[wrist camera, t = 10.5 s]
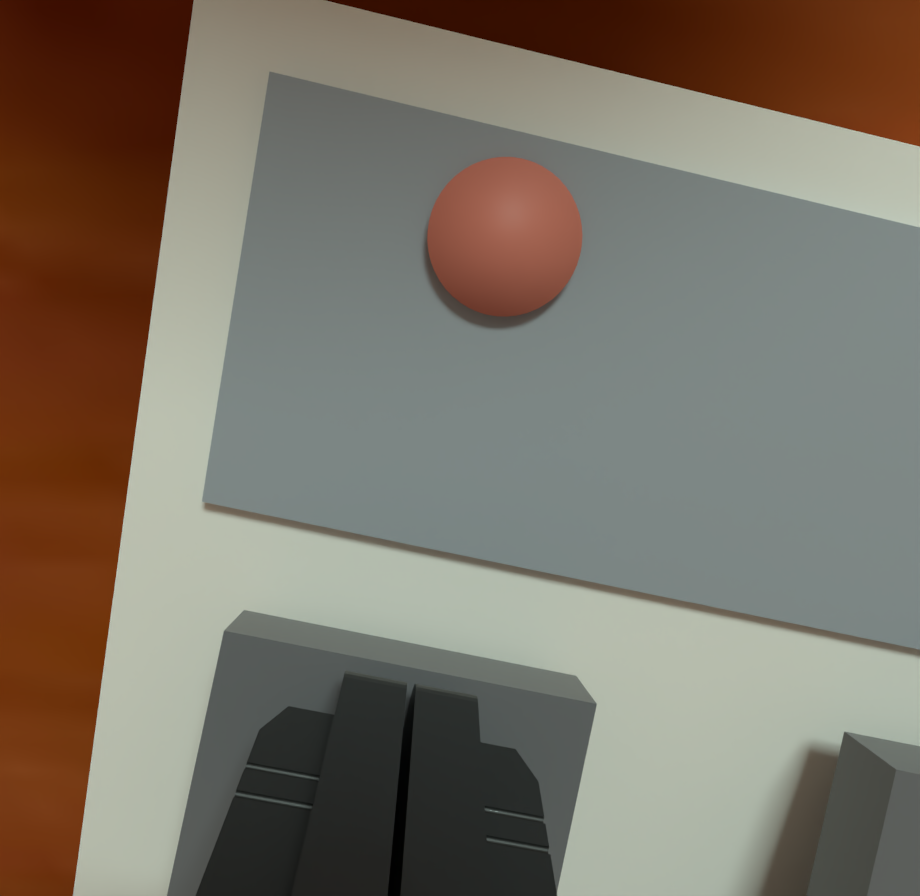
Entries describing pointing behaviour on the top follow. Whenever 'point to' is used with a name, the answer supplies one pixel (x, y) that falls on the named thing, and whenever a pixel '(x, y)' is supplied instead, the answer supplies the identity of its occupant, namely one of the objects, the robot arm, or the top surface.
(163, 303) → the switch unit
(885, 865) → the rocker
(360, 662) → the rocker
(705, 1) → the top surface
